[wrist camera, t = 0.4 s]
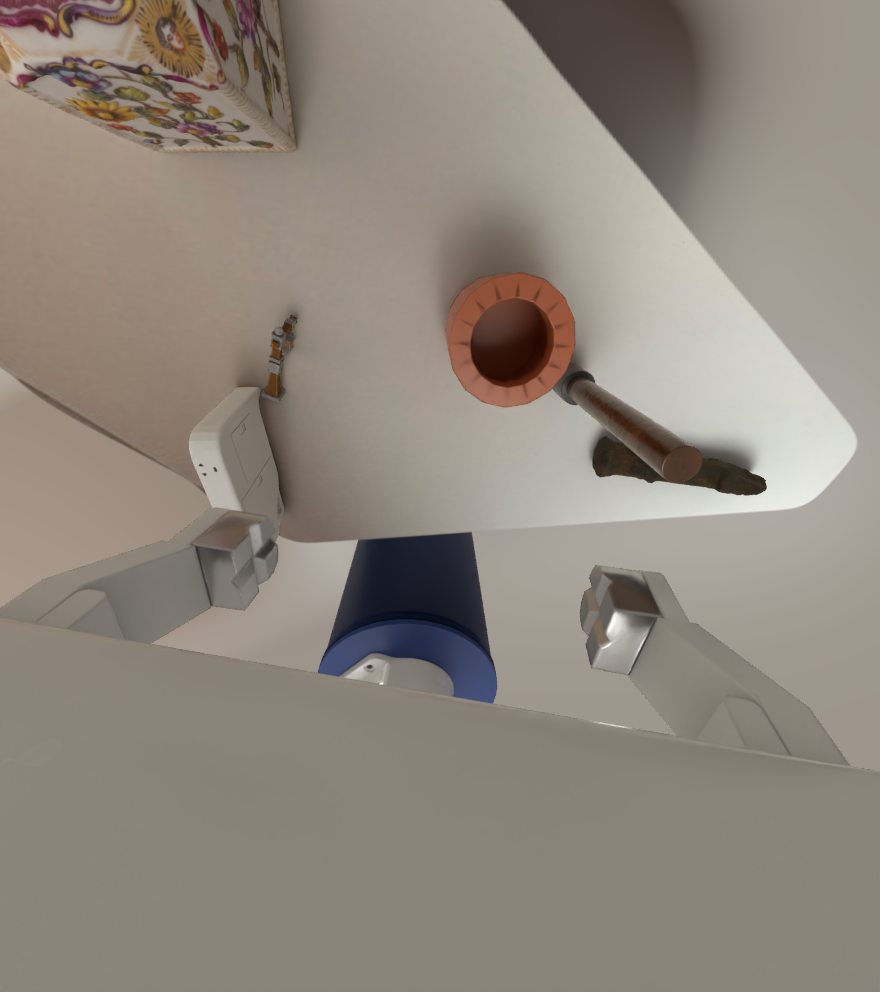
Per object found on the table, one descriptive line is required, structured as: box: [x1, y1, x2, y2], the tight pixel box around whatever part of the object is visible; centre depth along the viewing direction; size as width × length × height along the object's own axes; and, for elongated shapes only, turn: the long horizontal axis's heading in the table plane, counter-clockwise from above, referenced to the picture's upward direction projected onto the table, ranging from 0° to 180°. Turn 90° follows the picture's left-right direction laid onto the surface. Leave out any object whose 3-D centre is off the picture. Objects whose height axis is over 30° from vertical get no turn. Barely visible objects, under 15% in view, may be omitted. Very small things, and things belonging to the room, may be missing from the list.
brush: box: [552, 363, 702, 483], centre depth 32 cm, size 3×3×22 cm
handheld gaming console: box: [189, 387, 285, 541], centre depth 41 cm, size 11×3×15 cm
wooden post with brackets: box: [261, 315, 297, 403], centre depth 39 cm, size 2×8×4 cm, turn 156°
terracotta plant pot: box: [445, 273, 575, 407], centre depth 35 cm, size 9×9×10 cm
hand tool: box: [593, 436, 767, 495], centre depth 44 cm, size 19×4×5 cm, turn 78°
